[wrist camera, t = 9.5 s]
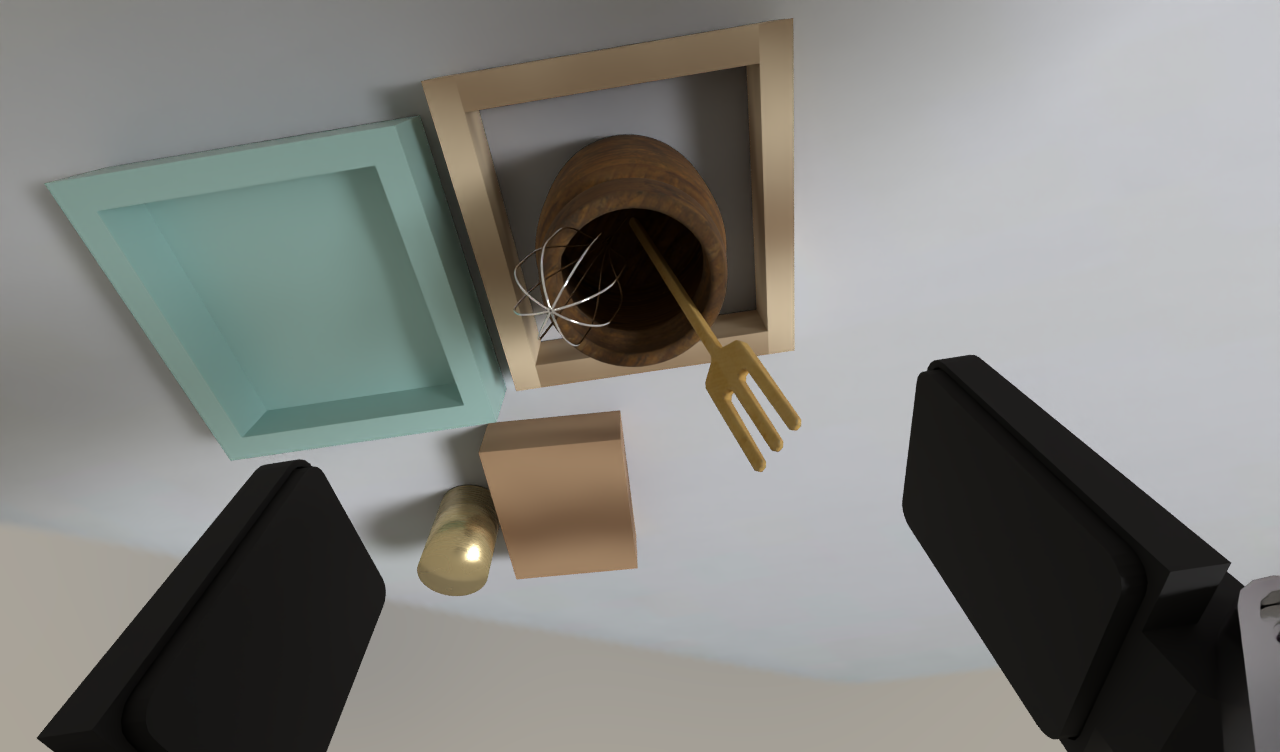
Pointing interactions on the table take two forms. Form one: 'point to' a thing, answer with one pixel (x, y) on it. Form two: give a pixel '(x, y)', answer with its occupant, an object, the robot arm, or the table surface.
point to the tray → (298, 286)
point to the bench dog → (460, 542)
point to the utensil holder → (646, 273)
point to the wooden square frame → (747, 45)
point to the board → (562, 493)
